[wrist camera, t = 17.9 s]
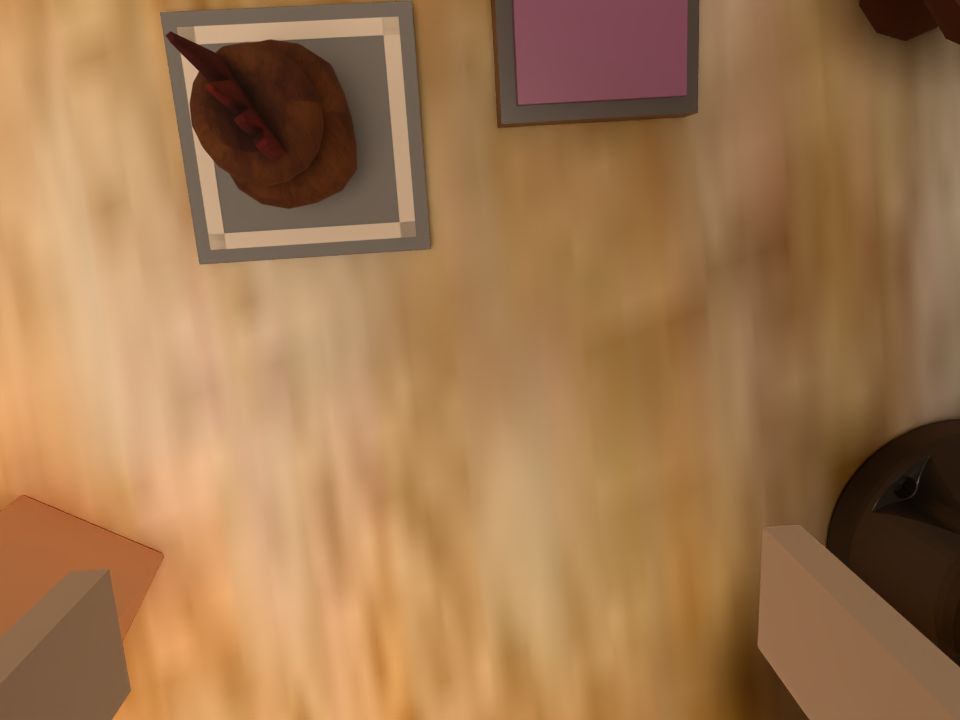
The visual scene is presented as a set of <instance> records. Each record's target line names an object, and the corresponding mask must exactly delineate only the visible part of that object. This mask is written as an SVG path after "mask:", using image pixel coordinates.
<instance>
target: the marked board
mask: <svg viewBox="0 0 960 720" xmlns="http://www.w3.org/2000/svg"><path fill="white" fill-rule="evenodd" d="M160 15H161V21H162V28H163V34H164V40H165V47H166V53H167V60H168V66H169V72H170V79H171V85H172V91H173V98H174V104H175V111H176V117H177V123H178V130H179V136H180V143H181V149H182V155H183V162H184V168H185V174H186V181H187V187H188V194H189V200H190V206H191V213H192V219H193V225H194V232H195V238H196V245H197V251H198V257H199V264H213V263H229V262H244V261H259V260H274V259H289V258H304V257H319V256H334V255H349V254H365V253H380V252H395V251H410V250H425V249H431V245H430V231H429V218H428V205H427V192H426V179H425V166H424V153H423V140H422V127H421V114H420V101H419V88H418V75H417V61H416V48H415V35H414V22H413V9H412V1H394V2H373V3H351V4H330V5H309V6H288V7H266V8H245V9H224V10H203V11H181V12H160ZM170 31H171V32H173V33H175V34H177V35H179V36H182V37H184V38H186V39H188V40H190V41H192V42H194V43H196V44H198V45H201V46H203V47H205V48H207V49H209V50H211V51H213V52H216V51H218V50H219V49H220V48H221V47H223V46H227V45H233V44H239V43H245V42H250V43H254V42H259V41H264V40H269V39H272V40H279V41H285V42H291V43H298V44H300V45H302V46H304V47H305V48H307V49H308V50H310V51H311V52H313V53H315V54H316V55H318V56H319V57H321V58H322V59H324V60H325V61H327V62H329V63H330V65H331V66H332V67H333V69H334V71H335V74H336V76H337V78H338V80H339V82H340V84H341V87H342V89H343V91H344V93H345V97H346V100H347V103H348V107H349V110H350V114H351V117H352V122H353V128H354V133H355V139H356V151H357V170H356V171H355V173H354V174H353V176H352V177H351V179H350V180H349V182H348V183H347V184H346V186H345V187H344V189H343V190H342V191H340V192H338V193H336V194H334V195H332V196H330V197H328V198H326V199H324V200H322V201H320V202H318V203H314V204H309V205H305V206H300V207H296V208H291V209H286V208H280V207H275V206H269V205H263V204H260V203H259V202H257V201H256V200H254V199H253V198H251V197H250V196H248V195H247V194H245V193H244V192H242V191H241V190H239V189H238V188H237V186H236V184H235V183H234V181H233V179H232V178H231V176H230V174H229V173H228V172H226V171H224V170H223V169H221V168H220V167H218V165H217V164H216V163H215V162H214V161H213V159H212V158H211V157H210V156H209V155H208V153H207V152H206V151H205V150H204V149H203V147H202V145H201V143H200V141H199V139H198V137H197V135H196V133H195V131H194V129H193V127H192V122H191V113H190V98H191V91H192V85H193V82H194V80H195V78H196V76H197V74H198V72H199V71H198V70H197V69H196V68H195V67H194V66H193V65H192V64H191V63H190V62H189V61H188V60H187V59H186V58H185V57H184V56H183V55H182V54H181V53H180V52H179V51H178V50H177V49H176V48H175V47H174V46H173V45H172V44H171V43H170V41H169V40H168V39H167V37H166V36H165V35H166V34H168V33H169V32H170Z"/></svg>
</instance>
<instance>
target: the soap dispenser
mask: <svg viewBox="0 0 960 720" xmlns="http://www.w3.org/2000/svg"><path fill="white" fill-rule="evenodd" d="M162 560H163V554H162V553H159V552H157V551H155V550H152V549H150V548H148V547H145V546H143V545H140V544H138V543H136V542H133V541H131V540H128V539H126V538H124V537H121V536H119V535H117V534H114V533H112V532H109V531H107V530H105V529H102V528H100V527H98V526H95V525H93V524H90V523H88V522H86V521H83V520H81V519H79V518H76V517H74V516H71V515H69V514H67V513H64V512H62V511H59V510H57V509H55V508H52V507H50V506H48V505H45V504H43V503H40V502H38V501H36V500H33V499H31V498H29V497H26V496H21V497H19V498H18V499H16V500H15V501H14V502H12V503H11V504H10V505H8V506H7V507H6V508H4V509H3V510H2V511H0V637H1V636H3V635H4V634H5V633H6V632H7V631H8V630H9V629H10V628H11V627H12V626H13V625H14V624H15V623H16V622H17V621H18V620H19V619H20V618H21V617H23V616H24V615H25V614H26V613H27V612H28V611H29V610H30V609H31V608H32V607H33V606H34V605H35V604H36V603H37V602H38V601H39V600H40V599H41V598H42V597H44V596H45V595H46V594H47V593H48V592H49V591H50V590H51V589H52V588H53V587H54V586H55V585H56V584H57V583H58V582H59V581H60V580H61V579H62V578H64V577H65V576H66V575H67V574H68V573H69V572H70V571H85V570H101V569H109V570H110V576H111V582H112V587H113V593H114V598H115V604H116V610H117V615H118V621H119V627H120V632H121V638H122V642H123V639H124V637H125V635H126V633H127V631H128V629H129V627H130V625H131V623H132V621H133V619H134V617H135V615H136V613H137V611H138V609H139V607H140V605H141V603H142V601H143V599H144V596H145V594H146V592H147V590H148V588H149V586H150V584H151V582H152V580H153V578H154V576H155V574H156V572H157V570H158V568H159V566H160V564H161V562H162Z"/></svg>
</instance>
